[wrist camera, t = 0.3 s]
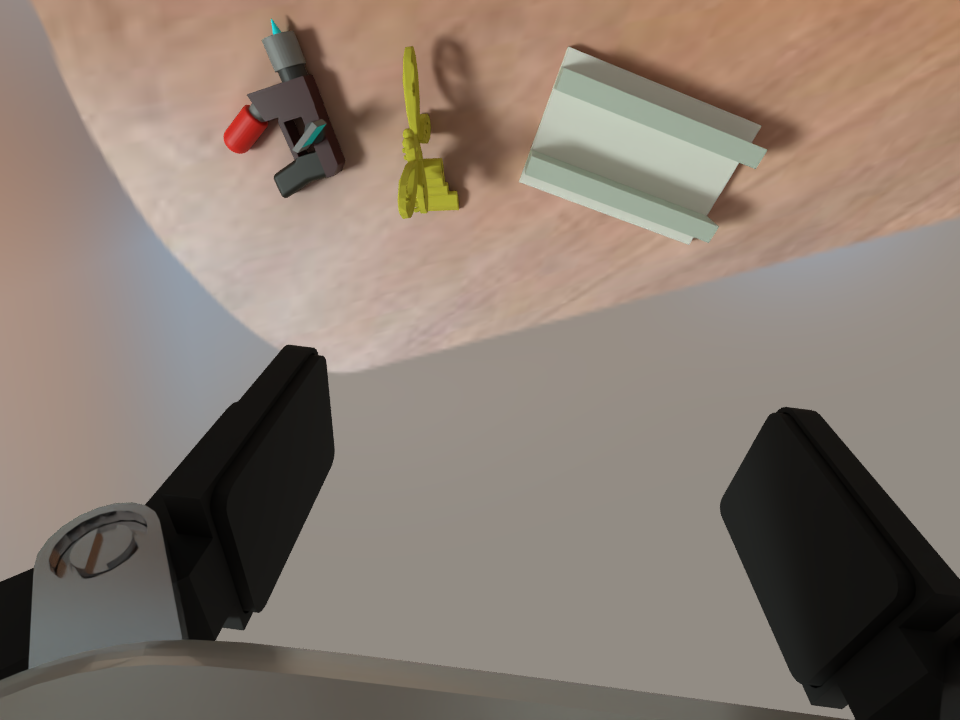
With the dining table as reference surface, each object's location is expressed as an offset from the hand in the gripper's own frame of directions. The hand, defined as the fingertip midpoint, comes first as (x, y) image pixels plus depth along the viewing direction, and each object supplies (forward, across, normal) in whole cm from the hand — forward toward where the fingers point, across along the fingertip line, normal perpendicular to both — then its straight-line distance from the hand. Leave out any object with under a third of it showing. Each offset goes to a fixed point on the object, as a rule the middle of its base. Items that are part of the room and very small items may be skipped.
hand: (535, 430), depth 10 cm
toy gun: (+35, +21, -1) cm, 41 cm away
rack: (+34, -9, -1) cm, 36 cm away
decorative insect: (+35, +8, -1) cm, 36 cm away
